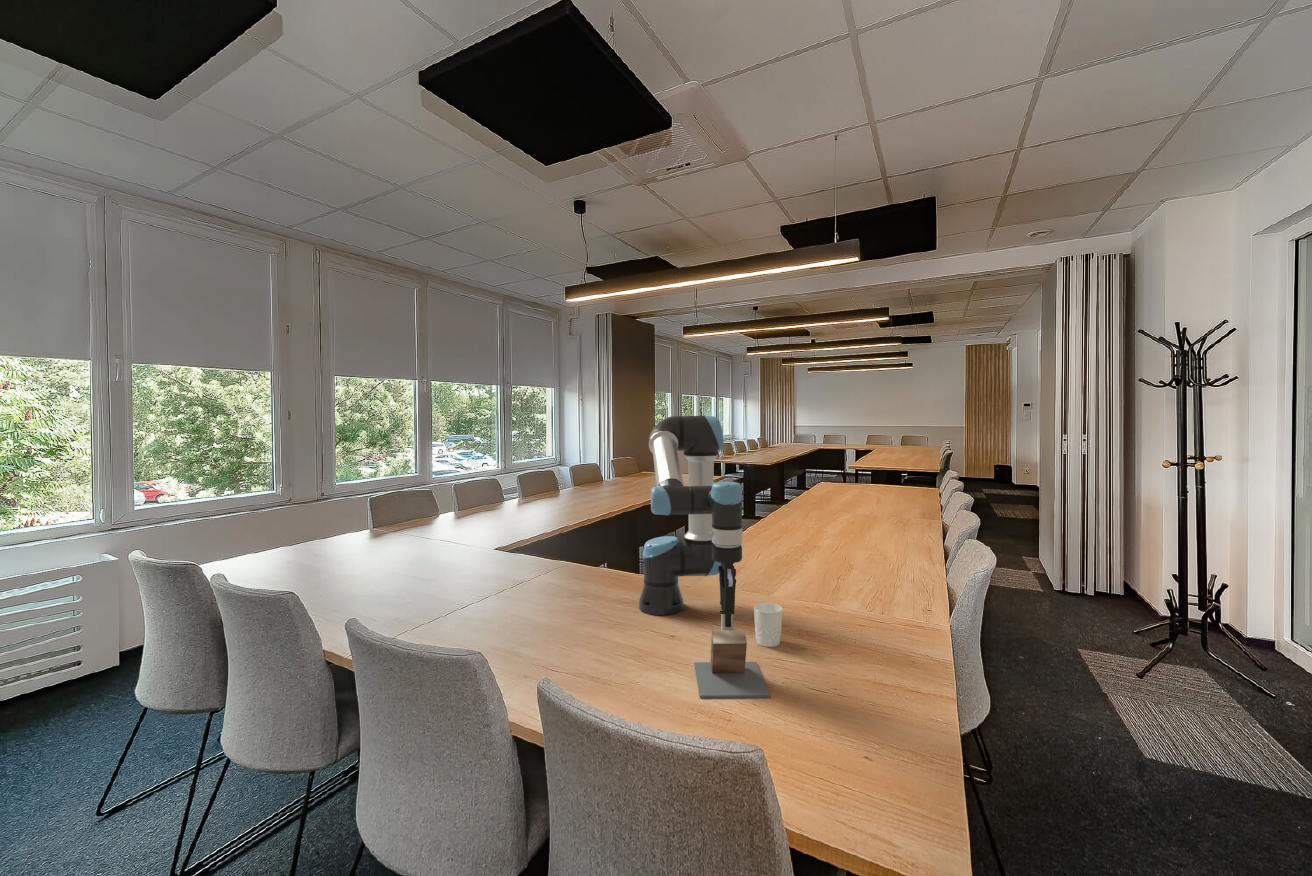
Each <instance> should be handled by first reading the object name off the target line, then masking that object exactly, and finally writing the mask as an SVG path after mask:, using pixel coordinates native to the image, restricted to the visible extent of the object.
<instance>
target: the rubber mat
mask: <svg viewBox="0 0 1312 876" xmlns="http://www.w3.org/2000/svg"><path fill="white" fill-rule="evenodd" d="M693 664H694V670H695V676H696V677H695V678H696V683H697V684H696V685H697V690H698V695H699V699H736V698H737V699H740V698H741V699H742V698H744V699H746V698H747V699H749V698H753V699H755V698H757V699H758V698H762V699H763V698H765V699H767V698H768V699H769V698H771V694H770V692H769V690H768V686H767V685H766V682H765V680H764V677H763V675H762V673H761V669H760V668H759V665H758V664H757V661H745V673H712V668H711V661H701V662H700V661H697V662H695V661H694V662H693Z"/></svg>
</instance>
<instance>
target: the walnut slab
mask: <svg viewBox="0 0 1312 876" xmlns="http://www.w3.org/2000/svg"><path fill="white" fill-rule="evenodd" d="M710 642H711V645H710V662H711V668H712V673H745V662H747V661H746V659H747V648H748V647H747V645H748V641H747V636H746V631H745V629H733V630H721V629H720V630H719V629H713V630H711V641H710Z"/></svg>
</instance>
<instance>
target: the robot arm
mask: <svg viewBox="0 0 1312 876" xmlns="http://www.w3.org/2000/svg"><path fill="white" fill-rule="evenodd" d="M648 448H649V451H650V453H651V454H652V458H653V465H654V476H655V483H656V484H655V485H656V486H654V487H651V489H650V510H651V513H652V514H654V515H659V516H660V515H661V516H673V515H674V516H676V515H677V516H678V515H679V516H680V515H683V516H685V515H688V530H687V532H686V533H685V534H684V536H683V540H682V541H681V540H680V541H679V539H678V537H677V536H673V535H671V536H670V535H663V536H659V537H658V536H657V537H654V538H651V539H648V540H647V541H646V542H645V543H644V546H643V554H642V557H643V586H642V590H641V592H640V596H639V598H638V609H639V610H640V611H641V612H643V613H645V614H649V615H655V616H667V615H672V614H677V613H679V612H681V611H683V610H684V598H683V595H682V592H681V589H680V586H679V577H709V576H710V577H711V576H717V575H718V574H719V575H718V576H719V577H718V579H719V597H720V599H719V600H720V601H719V604H720V609H721V610H719V615H721V620H720V621H721V627H720V628H721V629H720V630H734V615H735V611H736V610H735V604H736V583H737V579H736V576H737V569H736V568H735V566H734V564H735V563H736V564H737V563H740V562H741V561H742V560H743V546H742V544H743V498H744V497H743V494H742V493H743V491H742V490H743V489H742V485H741V484H740V483H739V482H733V481H717V482H715V480H714V479H715V478H714V477H715V475H714V474H715V473H714V468H715V459H718V457H719V451H722V450H723V449H724V432H723V428H722V425H721V422H720V420H719V418H718V417H716V416H715V415H705V414H704V415H672V416H669V417H665V418H664V419H662V420H659V422H658V423H656V425H654V427H653V428H652V430H651V431H650V433H649V435H648ZM678 451H679V452H681V451H683V457H684V458H685V459H686V460H687V464H688V465H687V467H688V470H687V471H688V472H687V474H688V475H687V476H688V477H687V478H688V481H687V482H688V483H687V484H688V486H687V485H685V486H684V480H683V476H682V469H681V466H680V460H679V455H678Z"/></svg>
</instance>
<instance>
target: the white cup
mask: <svg viewBox="0 0 1312 876" xmlns="http://www.w3.org/2000/svg"><path fill="white" fill-rule="evenodd" d="M753 615H754V616H753V617H754V618H753V619H754V621H753V622H754V630H755V631H754V632H755V642H756V643H757V645H759V646H762V647H764V648H765V647H766V648H775V647H778V646H780V644H781V637H782V636H781V635H782V623H783V622H782V621H783V607H782V606H781V605H779V604H777V603H774V602H759V603H756V604H754V606H753Z"/></svg>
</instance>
